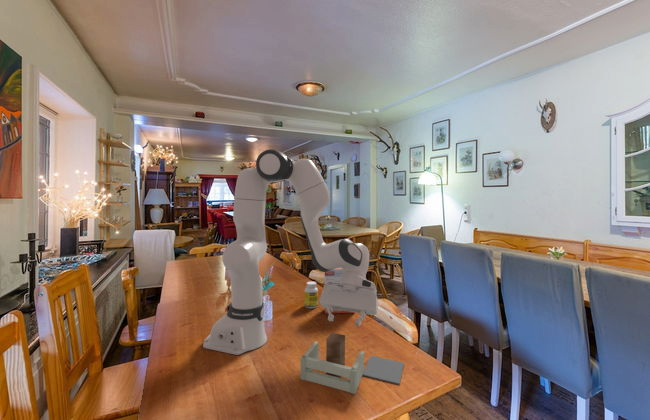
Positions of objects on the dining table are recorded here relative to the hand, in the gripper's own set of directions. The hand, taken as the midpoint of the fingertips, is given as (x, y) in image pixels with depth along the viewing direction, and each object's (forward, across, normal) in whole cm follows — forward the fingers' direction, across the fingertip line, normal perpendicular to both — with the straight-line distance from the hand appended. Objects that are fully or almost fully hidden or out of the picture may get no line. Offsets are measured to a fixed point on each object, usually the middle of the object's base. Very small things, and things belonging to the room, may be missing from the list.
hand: (343, 322), depth 95 cm
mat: (+9, +14, +8) cm, 18 cm away
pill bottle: (-17, -28, +35) cm, 48 cm away
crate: (+15, 0, +2) cm, 16 cm away
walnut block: (+14, 0, +4) cm, 14 cm away
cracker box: (-17, -14, +35) cm, 41 cm away
